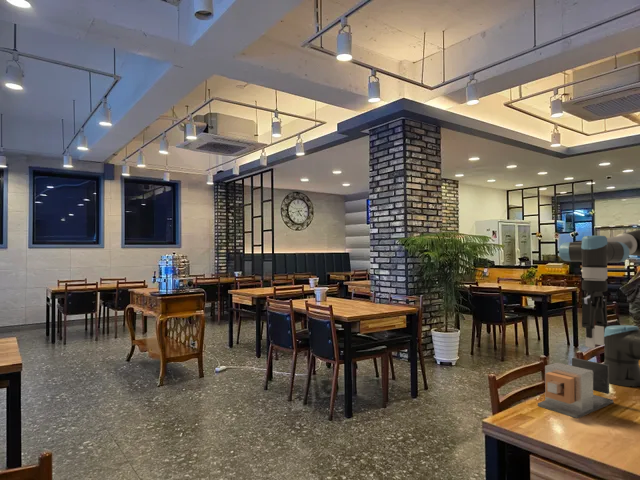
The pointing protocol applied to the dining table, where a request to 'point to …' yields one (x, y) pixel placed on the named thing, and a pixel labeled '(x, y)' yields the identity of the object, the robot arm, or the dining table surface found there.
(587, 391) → the block
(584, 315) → the robot arm
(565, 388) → the block
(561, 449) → the dining table surface
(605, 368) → the grey crossbar bracket
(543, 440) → the dining table surface
